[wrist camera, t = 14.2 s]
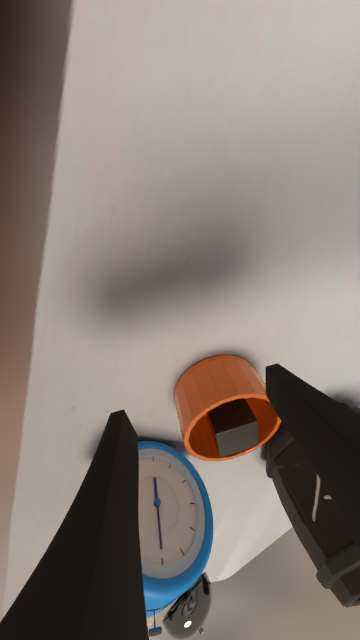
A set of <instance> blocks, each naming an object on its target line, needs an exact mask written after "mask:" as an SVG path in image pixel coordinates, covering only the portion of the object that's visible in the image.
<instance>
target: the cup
mask: <svg viewBox="0 0 360 640" xmlns="http://www.w3.org/2000/svg"><path fill="white" fill-rule="evenodd" d="M174 397H175V404H176V409H177V414H178V418H179V423H180V428H181V432H182V437H183V442H184V445H185V448H186V450H187V451H188V452H189V453H190V454H191V455H192V456H193V457H196V458H199V459H202V460H205V461H222V460H229V459H233V458H236V457H239V456H242V455H245V454H247V453H249V452H251V451H253V450H255V449H257V448H258V447H260V446H261V445H263V444H264V443H265V442H267V441H268V440H269V439H270V438H271V437H272V436H273V434H274V433H275V432H276V431H277V430H278V427H279V425H280V423H281V420H280V418H279V417H278V415H277V414H276V412H275V411H274V409H273V407H272V405H271V403H270V401H269V400H268V398H267V396H266V384H265V383H264V381H263V380H262V378H261V377H260V375H259V374H258V373H257V371H256V370H255V368H254V367H253V366H252V365H251V364H250V363H249V362H248V361H247V360H245V359H243V358H241V357H238V356H233V355H220V356H214V357H210V358H207V359H205V360H202V361H200V362H198V363H197V364H195V365H193V366H192V367H191V368H189V369H188V370H187V371H186V372H185V373H184V374H183V375H182V376H181V378H180V379H179V381H178V383H177V385H176V388H175V393H174ZM241 398H245V399H246V401H247V403H248V405H249V406H250V408H251V410H252V412H253V414H254V415H255V417H256V419H257V421H258V445H257V446H254V447H251V448H248V449H245V450H242V451H239V452H236V453H233V454H229V455H226V456H223V457H220V456H219V453H218V450H217V447H216V444H215V441H214V438H213V435H212V432H211V429H210V426H209V423H208V420H207V417H206V413H207V412H208V411H210V410H212V409H213V408H215V407H217V406H219V405H221V404H223V403H226V402H229V401H232V400H236V399H241Z"/></svg>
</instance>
